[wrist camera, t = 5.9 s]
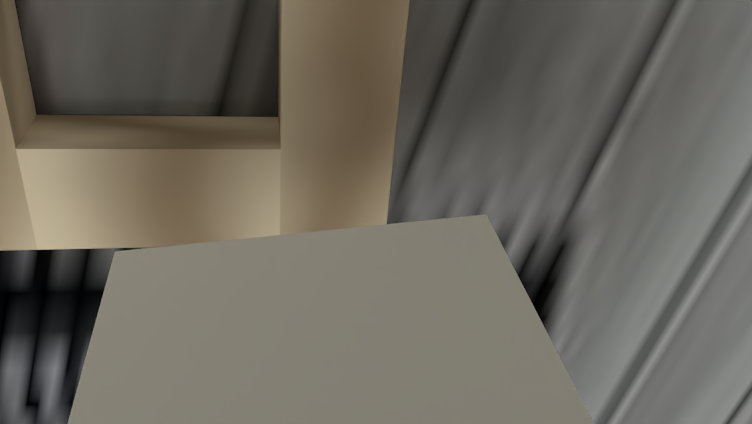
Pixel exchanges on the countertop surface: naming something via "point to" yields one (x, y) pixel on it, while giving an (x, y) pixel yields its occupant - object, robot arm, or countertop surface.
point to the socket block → (214, 146)
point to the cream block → (325, 333)
